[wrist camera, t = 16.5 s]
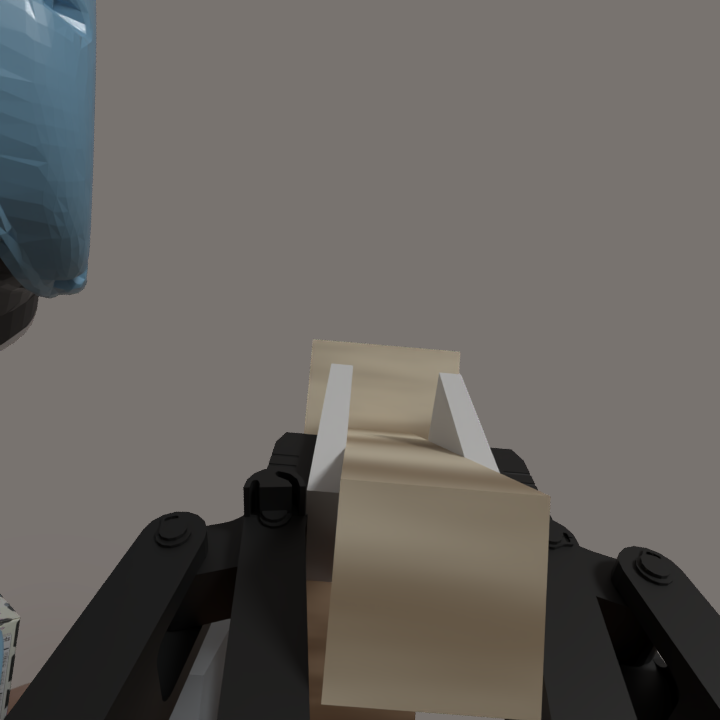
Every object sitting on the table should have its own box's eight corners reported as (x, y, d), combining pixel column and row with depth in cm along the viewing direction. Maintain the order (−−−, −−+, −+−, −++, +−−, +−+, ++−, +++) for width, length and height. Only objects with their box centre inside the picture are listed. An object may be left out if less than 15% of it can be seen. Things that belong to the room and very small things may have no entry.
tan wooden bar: (686, 733, 6) (692, 237, 7) (173, 692, 6) (231, 196, 7) (432, 484, 26) (440, 361, 27) (308, 474, 26) (320, 351, 27)
